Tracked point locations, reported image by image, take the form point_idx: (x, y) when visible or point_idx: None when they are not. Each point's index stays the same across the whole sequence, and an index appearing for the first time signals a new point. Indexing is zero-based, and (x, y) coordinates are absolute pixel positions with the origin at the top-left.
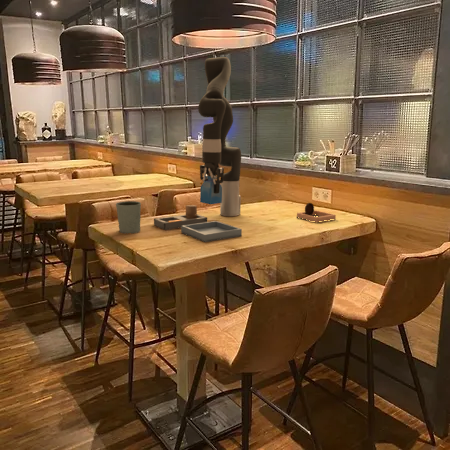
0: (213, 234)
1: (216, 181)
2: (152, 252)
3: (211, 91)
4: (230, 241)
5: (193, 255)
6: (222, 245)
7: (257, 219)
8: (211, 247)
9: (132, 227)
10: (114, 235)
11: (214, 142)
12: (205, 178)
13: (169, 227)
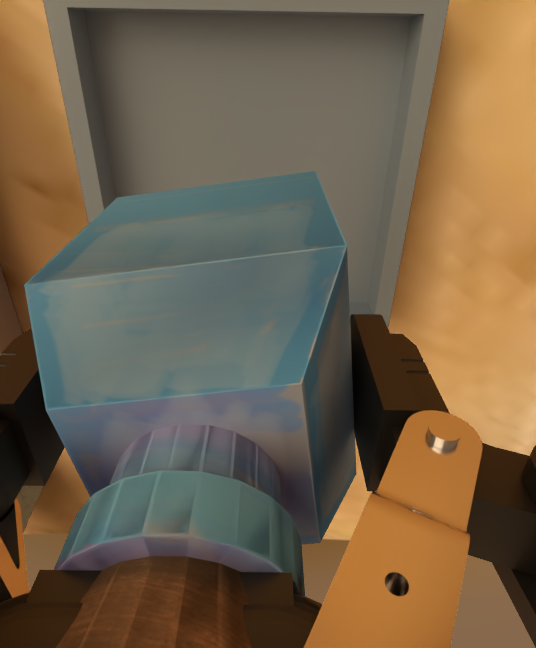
0: (396, 273)
1: (493, 560)
2: (357, 513)
3: None
4: (470, 175)
5: (499, 440)
6: (492, 268)
7: None
8: (473, 331)
9: (35, 494)
10: (58, 521)
11: None
12: (20, 558)
13: (12, 325)
